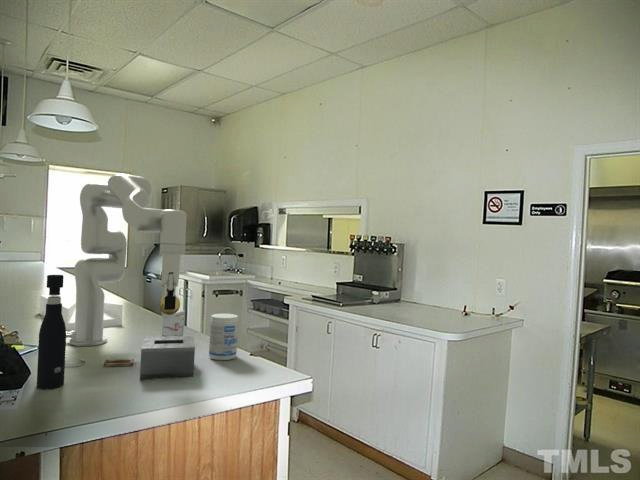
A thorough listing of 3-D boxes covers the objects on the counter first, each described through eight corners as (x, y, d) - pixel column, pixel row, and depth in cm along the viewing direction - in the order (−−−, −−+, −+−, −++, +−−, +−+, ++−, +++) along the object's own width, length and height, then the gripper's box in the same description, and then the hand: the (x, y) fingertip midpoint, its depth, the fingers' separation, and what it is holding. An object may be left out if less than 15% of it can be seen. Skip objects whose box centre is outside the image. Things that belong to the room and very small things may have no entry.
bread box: (38, 314, 215) (39, 294, 215) (88, 310, 231) (88, 292, 231) (66, 331, 183) (68, 308, 183) (121, 326, 199) (122, 304, 199)
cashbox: (139, 379, 129) (141, 348, 129) (143, 364, 144) (145, 336, 144) (193, 377, 134) (194, 347, 134) (192, 362, 148) (193, 335, 148)
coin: (165, 318, 137) (183, 308, 139) (155, 301, 136) (173, 291, 138) (165, 316, 140) (183, 307, 141) (156, 300, 139) (174, 290, 140)
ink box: (172, 343, 172) (174, 313, 171) (160, 342, 173) (162, 311, 172) (183, 338, 180) (185, 309, 180) (172, 337, 181) (173, 308, 181)
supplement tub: (227, 362, 151) (229, 319, 150) (203, 358, 153) (205, 316, 153) (241, 355, 160) (243, 314, 160) (217, 352, 163) (219, 312, 162)
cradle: (103, 366, 139) (103, 363, 139) (105, 362, 144) (105, 359, 144) (132, 365, 142) (132, 362, 142) (133, 361, 146) (133, 358, 146)
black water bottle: (44, 381, 124) (49, 273, 124) (68, 381, 125) (73, 274, 124) (31, 389, 118) (36, 276, 117) (56, 389, 118) (61, 277, 118)
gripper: (160, 248, 145) (158, 304, 145) (158, 250, 130) (155, 313, 130) (184, 249, 147) (182, 304, 147) (185, 251, 132) (182, 313, 132)
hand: (169, 308), depth 139 cm, fingers closed on coin, 2 cm apart
